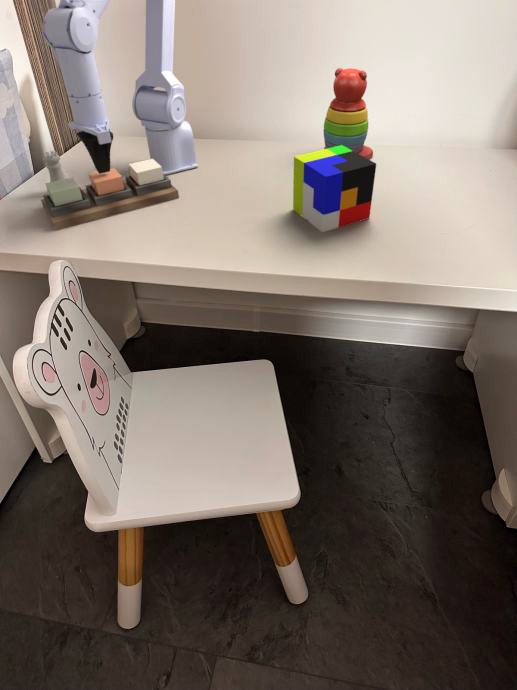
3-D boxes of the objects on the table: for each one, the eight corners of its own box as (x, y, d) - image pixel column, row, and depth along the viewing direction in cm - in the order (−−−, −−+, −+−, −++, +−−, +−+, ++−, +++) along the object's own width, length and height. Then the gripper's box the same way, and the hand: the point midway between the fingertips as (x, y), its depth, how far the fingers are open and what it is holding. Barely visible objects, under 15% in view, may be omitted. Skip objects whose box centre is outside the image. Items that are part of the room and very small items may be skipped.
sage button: (76, 189, 95) (72, 177, 93) (82, 199, 92) (79, 186, 90) (49, 196, 93) (45, 183, 92) (55, 206, 90) (51, 193, 88)
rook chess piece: (66, 198, 99) (54, 158, 94) (46, 196, 100) (33, 157, 95) (77, 188, 103) (66, 149, 97) (57, 187, 103) (45, 148, 98)
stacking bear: (375, 154, 112) (386, 65, 100) (357, 170, 105) (366, 77, 93) (332, 146, 116) (337, 60, 104) (311, 161, 110) (315, 71, 98)
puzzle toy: (322, 232, 86) (325, 176, 80) (293, 209, 93) (293, 156, 86) (369, 218, 89) (376, 163, 83) (337, 197, 96) (341, 145, 90)
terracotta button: (116, 180, 98) (113, 167, 96) (124, 189, 95) (121, 176, 93) (91, 186, 96) (88, 173, 95) (98, 195, 93) (95, 182, 91)
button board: (158, 178, 105) (156, 164, 103) (179, 197, 98) (176, 183, 96) (43, 206, 97) (38, 192, 95) (55, 230, 90) (50, 215, 88)
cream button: (154, 170, 101) (152, 158, 99) (163, 179, 97) (161, 167, 96) (131, 176, 99) (128, 164, 97) (139, 185, 96) (137, 172, 94)
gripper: (51, 87, 88) (72, 163, 97) (71, 107, 78) (93, 190, 87) (91, 80, 90) (108, 155, 99) (115, 100, 81) (131, 181, 90)
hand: (103, 171), depth 93 cm, fingers closed
